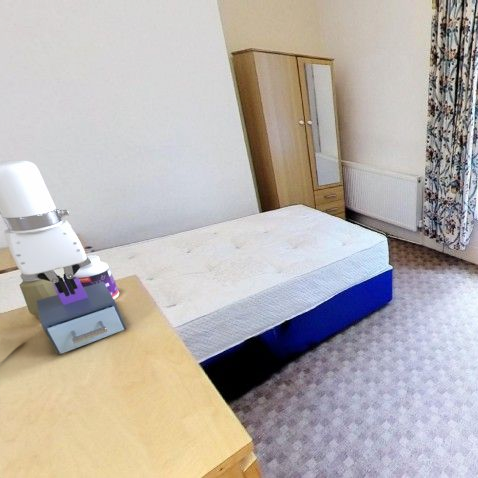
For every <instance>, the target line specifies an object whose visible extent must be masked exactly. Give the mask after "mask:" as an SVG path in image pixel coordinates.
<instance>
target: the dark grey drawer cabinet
mask: <svg viewBox="0 0 478 478" xmlns="http://www.w3.org/2000/svg"><path fill="white" fill-rule="evenodd" d="M83 289H84V291H85V293H86V295H87V297H88V298H86V299H83V300H79V301H76V302H73V303H70V304H66V305H63V304H62V302H61V300H60V298H59V296H58V295H55V296H52V297H48V298H45V299H41V300H38V301H36V303H37V307H38V312H39V316H40V319H39V320H40V325H41V327H42V329H43V331H44V333H45V334H46V336H47V338H48V340H49V341H50V343H51V345H52V347H53V349H54V351H55V353H56V354H57V356H59V355H61V354H60V352H59V350H58V348H57V346H56V345H55V343H54V341H53V339H52V337H51V336H50V334H49V332H48V330H47V328H50V327H52V325H54V324H57V323H60V322H63V321H66V320H69V319H72V318H75V317H78V316H81V315H84V314H87V313H90V312H93V311H96V310H99V309H102V308H105V307H113V306H114V308H115V310H116V312H117V315H118V317H119V319H120V322H121V324H122V326H123V328H124V330H127V327H126V324H125V321H124V319H123V317H122V315H121V312H120V309H119V308H118V304H117V303H116V301H115V299H113V297H112V296H111V294H110V292H109V290H108V289H107V287H106V285H105V284H104V282H100V283H97V284H93V285H90V286H86V287H83ZM124 330H123V331H124Z"/></svg>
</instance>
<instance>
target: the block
mask: <svg viewBox="0 0 478 478" xmlns="http://www.w3.org/2000/svg"><path fill="white" fill-rule="evenodd" d="M63 281H64V280H63ZM74 281H75V283H76V285H77V287H78V288H77V289H74V291H75V293H76V294H74V295H73V294H72V295H71V293H70V291H69V289H68V287H67V285H66V283H65V281H64V283H65V285H66V287H67V289H68V291H69V293H70V295H69V296H67V297H66V296H65V294H64V292H63V293H59V291H58V290H57V288H56V286H55V284H54V287H55V290H56V292H57V294H58V296H59V298H60V300H61V302H62V304H63V305H66V304H70V303H73V302H76V301H79V300H83V299H86V298H88V297H87V295H86V293H85V291H84V289H83V287H82V284H81V282H80V280H79V278H75V279H74Z"/></svg>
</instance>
